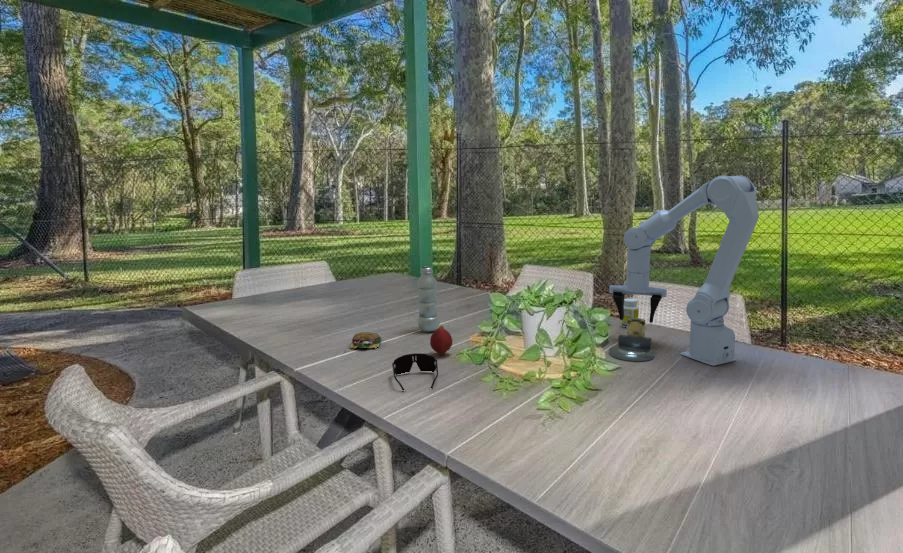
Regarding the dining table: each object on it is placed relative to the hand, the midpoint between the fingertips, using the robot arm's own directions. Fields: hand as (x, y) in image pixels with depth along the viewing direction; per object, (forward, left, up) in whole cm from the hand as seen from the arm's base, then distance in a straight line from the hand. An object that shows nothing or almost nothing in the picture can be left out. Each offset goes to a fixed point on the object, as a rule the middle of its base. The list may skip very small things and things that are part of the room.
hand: (636, 320), depth 134 cm
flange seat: (-8, +9, -6) cm, 13 cm away
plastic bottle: (+38, +47, -6) cm, 61 cm away
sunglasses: (0, +64, -6) cm, 64 cm away
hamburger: (+32, +69, -7) cm, 77 cm away
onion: (+15, +52, -6) cm, 54 cm away
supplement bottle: (+12, -9, -6) cm, 16 cm away
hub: (0, 0, -6) cm, 6 cm away
